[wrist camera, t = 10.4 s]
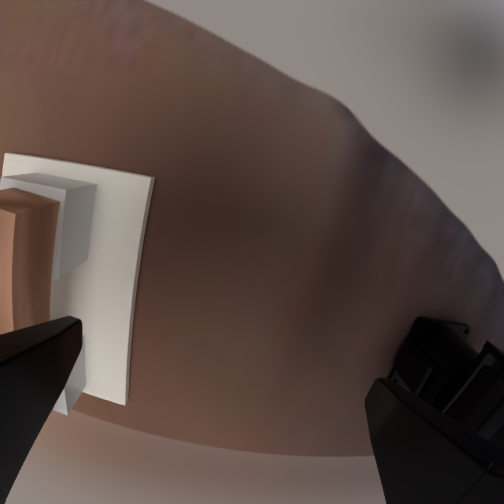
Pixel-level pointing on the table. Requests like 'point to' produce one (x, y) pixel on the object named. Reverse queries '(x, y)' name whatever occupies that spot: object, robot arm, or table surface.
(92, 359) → the display stand
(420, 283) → the table surface
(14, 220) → the terracotta bar
